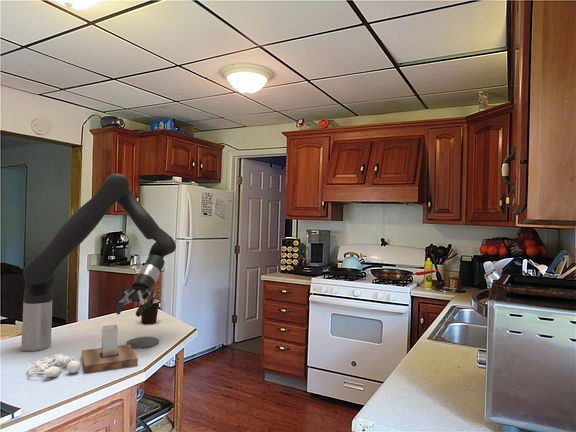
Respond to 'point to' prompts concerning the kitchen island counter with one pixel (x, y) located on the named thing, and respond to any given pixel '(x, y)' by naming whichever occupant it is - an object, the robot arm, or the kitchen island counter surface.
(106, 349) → the steel peg
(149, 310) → the coffee mug
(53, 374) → the tangled rod sculpture
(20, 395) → the kitchen island counter surface
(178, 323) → the kitchen island counter surface
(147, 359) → the kitchen island counter surface
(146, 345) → the rubber pad
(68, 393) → the kitchen island counter surface
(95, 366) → the socket block
